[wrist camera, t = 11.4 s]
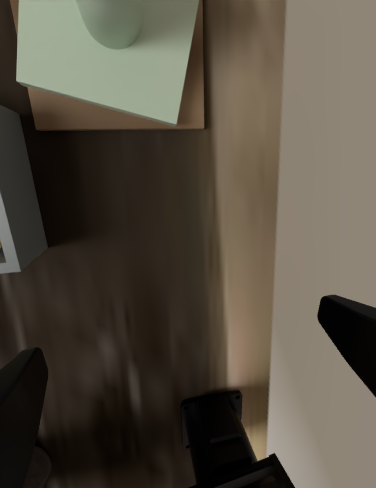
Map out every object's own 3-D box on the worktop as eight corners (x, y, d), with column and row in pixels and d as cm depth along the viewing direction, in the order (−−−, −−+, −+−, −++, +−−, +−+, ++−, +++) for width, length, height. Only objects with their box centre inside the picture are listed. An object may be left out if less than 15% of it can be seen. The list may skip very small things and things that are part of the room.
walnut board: (202, 129, 18) (204, 128, 17) (39, 130, 16) (35, 129, 16) (198, -71, 15) (201, -80, 14) (-6, -99, 13) (-12, -111, 12)
